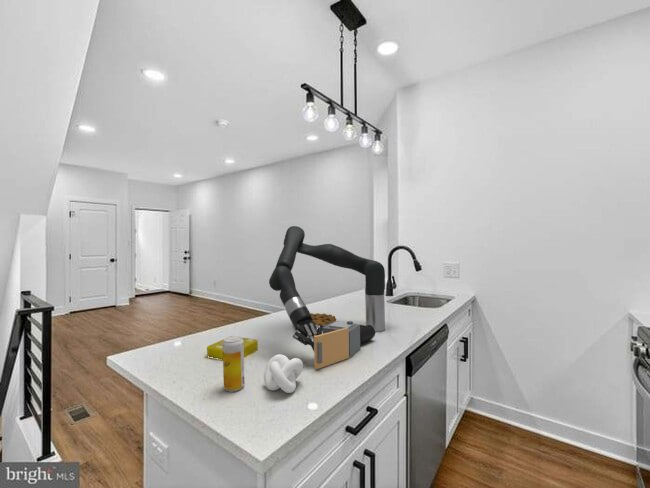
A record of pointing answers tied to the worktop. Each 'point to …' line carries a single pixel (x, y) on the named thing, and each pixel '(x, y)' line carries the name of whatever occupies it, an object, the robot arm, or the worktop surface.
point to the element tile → (217, 348)
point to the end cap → (366, 333)
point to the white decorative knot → (282, 373)
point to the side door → (331, 347)
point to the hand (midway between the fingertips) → (319, 352)
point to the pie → (322, 319)
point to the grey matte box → (353, 334)
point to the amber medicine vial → (233, 363)
